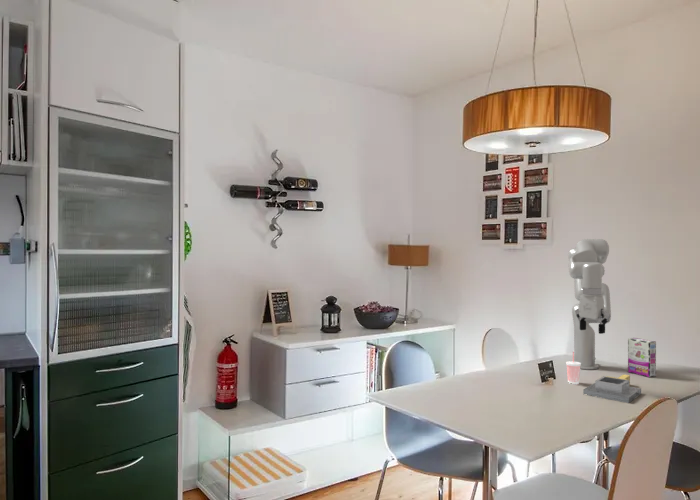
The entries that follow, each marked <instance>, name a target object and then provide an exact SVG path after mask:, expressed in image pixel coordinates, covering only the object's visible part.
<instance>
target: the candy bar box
mask: <svg viewBox="0 0 700 500" xmlns="http://www.w3.org/2000/svg"><path fill="white" fill-rule="evenodd" d="M627 372H628V373H630V374H634V375H638V376H643V377H647V378H654V377H656V376H657V341H656V340H655V341H654V340H649V339H642V338H638V337H629V338H627Z"/></svg>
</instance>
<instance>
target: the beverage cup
mask: <svg viewBox="0 0 700 500" xmlns="http://www.w3.org/2000/svg"><path fill="white" fill-rule="evenodd" d="M565 364H566V372H567V373H566V374H567V383H568V382H569V383H568V384H570V383H572V384H571V385H579V384H580V372H581V369H580V366H581V363H580V362H575V361H574V350H573V351H572V360H571V361H570V360H569V361H565Z"/></svg>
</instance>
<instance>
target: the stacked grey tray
mask: <svg viewBox="0 0 700 500" xmlns="http://www.w3.org/2000/svg"><path fill="white" fill-rule="evenodd" d="M606 376H607V375H606ZM606 376H605V375H603V376H601V377H600V378H598V379H596V380H595V381H594V383H592V384H591V385H589V386H587V387H585V388H584V389H583V395H584V394H587V395H586V396H590V395H592V396H591V397H595V396H597V397H596V398H600V397H601V398H602V399H605V398H606V400H612V401H616V402H621V403H627V404H629V403H631V402H632V401H633V400H635V399H636V398H638V397H639V396H640V395H641V394H642V388H639V387H634V386H630V385H629V380H624V379H618V377H615V378H612V377H613V376H609V377H606Z"/></svg>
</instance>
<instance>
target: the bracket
mask: <svg viewBox="0 0 700 500" xmlns="http://www.w3.org/2000/svg"><path fill="white" fill-rule="evenodd" d="M606 377H610V376H607V375H606ZM611 377H612V378H616V377H615V376H611ZM617 378H618V379H624V380H629V386H630V385H631V376H630V374H621V375H620V376H619V377H617Z"/></svg>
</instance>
